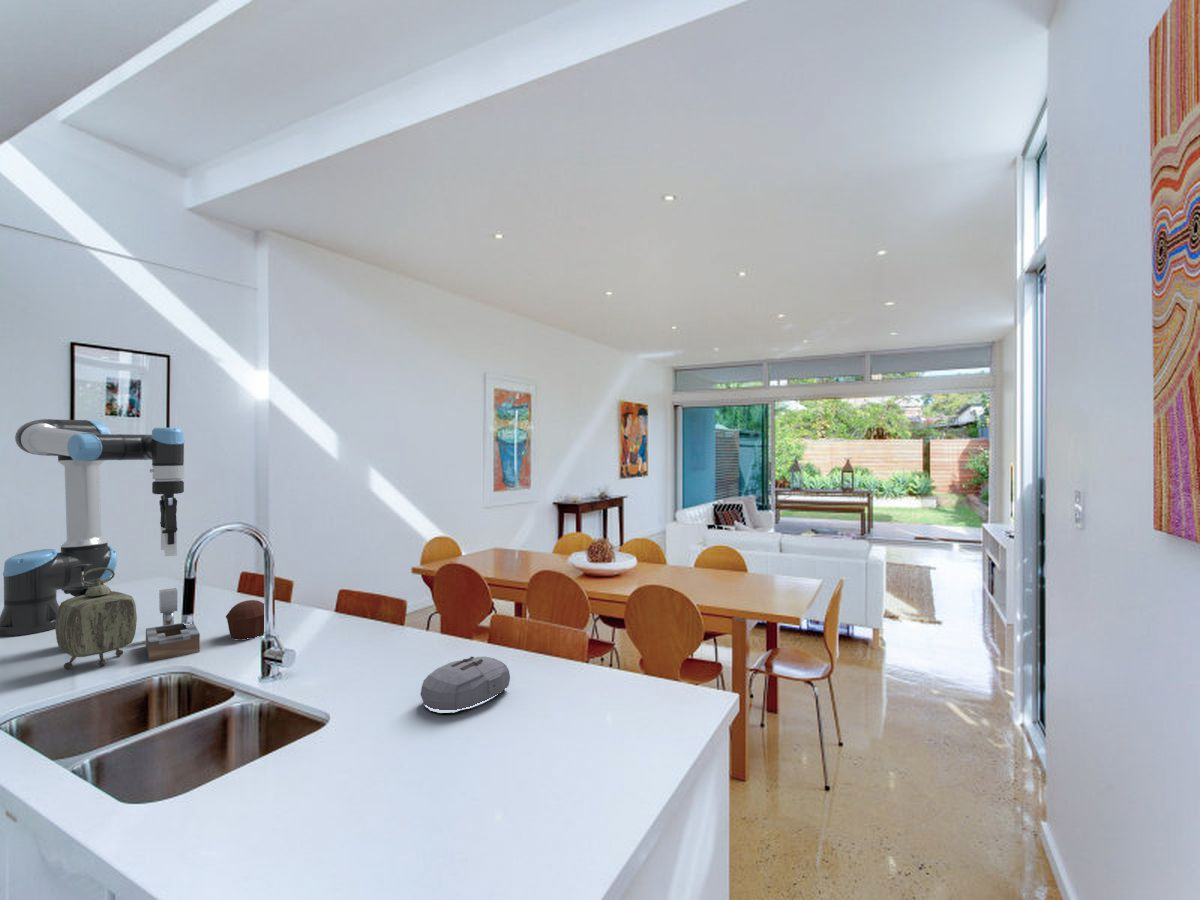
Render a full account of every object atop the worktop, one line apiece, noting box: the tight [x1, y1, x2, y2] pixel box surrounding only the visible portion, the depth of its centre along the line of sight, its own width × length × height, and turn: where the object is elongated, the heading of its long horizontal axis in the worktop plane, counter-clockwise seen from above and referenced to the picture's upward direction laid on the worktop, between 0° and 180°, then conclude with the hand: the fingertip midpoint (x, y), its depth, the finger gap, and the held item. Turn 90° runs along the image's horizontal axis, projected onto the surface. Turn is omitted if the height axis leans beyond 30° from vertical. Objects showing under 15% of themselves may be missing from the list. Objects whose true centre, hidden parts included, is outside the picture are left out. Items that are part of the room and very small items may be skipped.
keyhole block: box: [145, 620, 201, 662], centre depth 163 cm, size 15×11×5 cm
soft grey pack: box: [420, 656, 511, 710], centre depth 133 cm, size 15×8×20 cm
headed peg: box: [158, 587, 178, 626], centre depth 173 cm, size 5×5×14 cm
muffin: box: [225, 599, 265, 640], centre depth 176 cm, size 12×11×10 cm
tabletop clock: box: [54, 567, 138, 670], centre depth 152 cm, size 14×9×25 cm, turn 149°
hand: (168, 552), depth 172 cm, fingers open, 13 cm apart
